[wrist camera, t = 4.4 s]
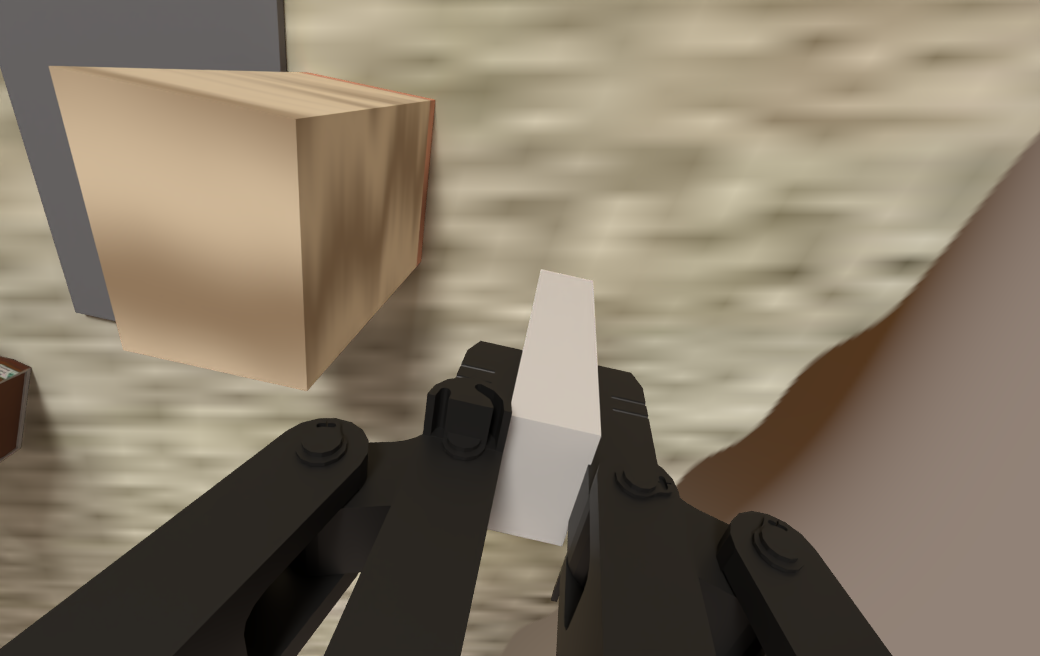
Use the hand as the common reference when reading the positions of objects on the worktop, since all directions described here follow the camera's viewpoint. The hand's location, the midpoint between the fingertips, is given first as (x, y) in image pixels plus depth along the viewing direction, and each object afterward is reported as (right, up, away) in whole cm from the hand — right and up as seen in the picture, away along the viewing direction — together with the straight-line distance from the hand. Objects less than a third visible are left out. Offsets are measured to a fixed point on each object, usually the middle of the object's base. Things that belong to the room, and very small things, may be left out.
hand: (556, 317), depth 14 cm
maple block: (-9, +7, +10) cm, 15 cm away
